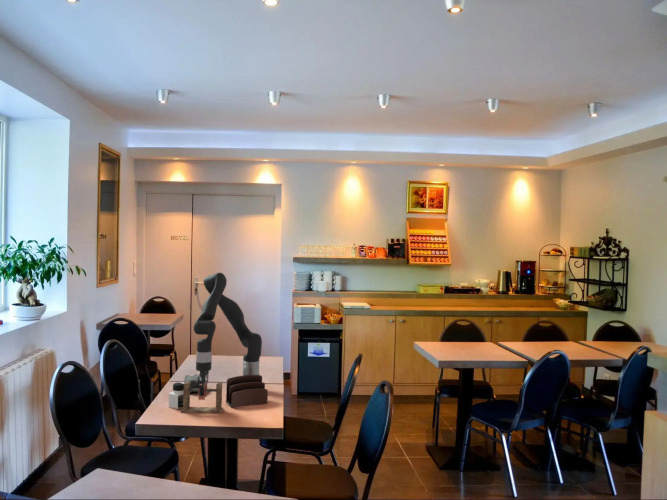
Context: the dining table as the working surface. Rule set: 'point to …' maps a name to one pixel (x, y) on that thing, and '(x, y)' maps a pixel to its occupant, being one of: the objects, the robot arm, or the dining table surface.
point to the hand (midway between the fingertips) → (202, 394)
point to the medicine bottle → (176, 396)
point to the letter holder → (246, 391)
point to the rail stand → (189, 409)
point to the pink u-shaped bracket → (204, 393)
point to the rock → (192, 382)
